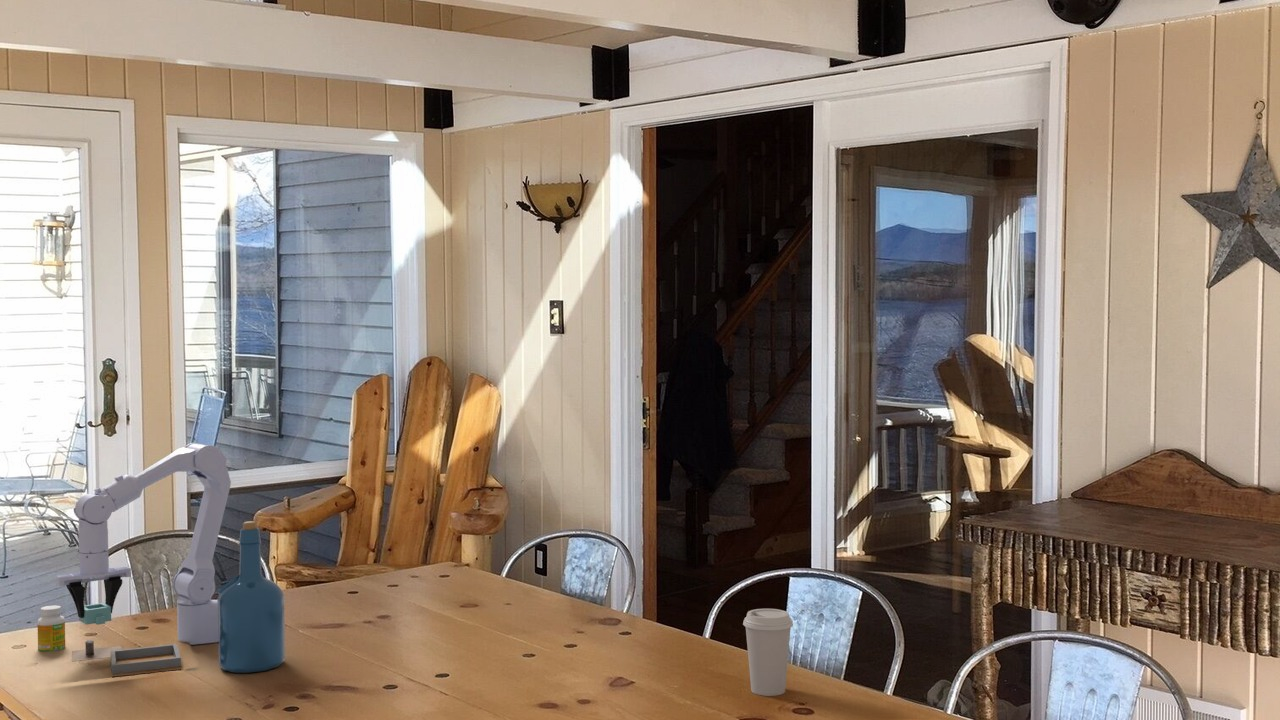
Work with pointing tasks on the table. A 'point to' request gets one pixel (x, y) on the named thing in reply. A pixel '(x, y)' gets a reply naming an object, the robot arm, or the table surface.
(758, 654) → the coffee cup
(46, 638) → the supplement bottle
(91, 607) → the teal ring
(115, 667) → the tray
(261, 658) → the wine bottle
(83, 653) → the board
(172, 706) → the table surface
